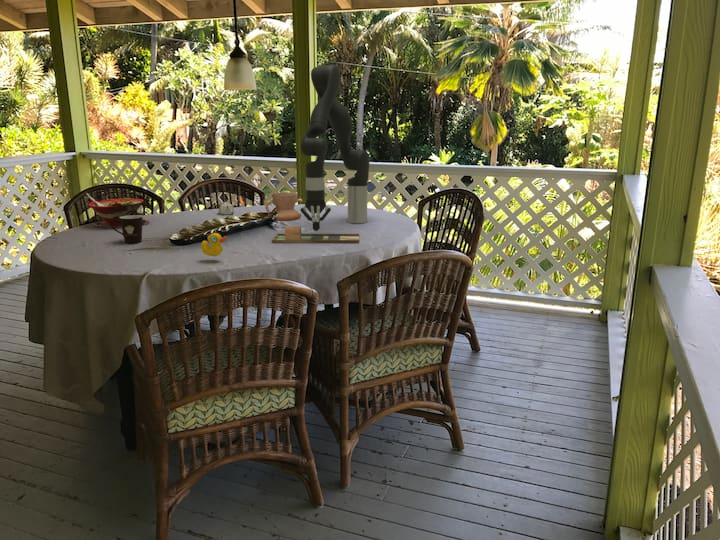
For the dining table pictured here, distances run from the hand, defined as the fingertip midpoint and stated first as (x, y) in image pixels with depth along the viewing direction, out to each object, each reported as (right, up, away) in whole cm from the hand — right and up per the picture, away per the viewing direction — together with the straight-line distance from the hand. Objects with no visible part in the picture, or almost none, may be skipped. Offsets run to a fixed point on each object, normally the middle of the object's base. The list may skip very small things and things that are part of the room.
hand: (316, 230), depth 237 cm
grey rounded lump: (-48, +9, +49) cm, 69 cm away
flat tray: (+1, -4, +1) cm, 4 cm away
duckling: (-35, -11, -28) cm, 46 cm away
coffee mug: (-75, -5, -3) cm, 75 cm away
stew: (-93, +3, +27) cm, 97 cm away
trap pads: (+4, -4, +1) cm, 5 cm away
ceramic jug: (-19, +6, +41) cm, 46 cm away
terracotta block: (-10, -3, 0) cm, 10 cm away
